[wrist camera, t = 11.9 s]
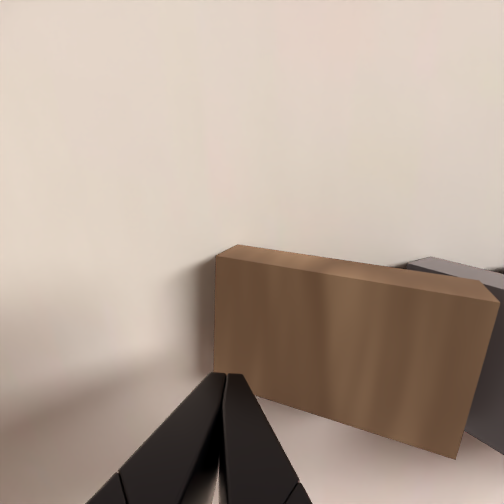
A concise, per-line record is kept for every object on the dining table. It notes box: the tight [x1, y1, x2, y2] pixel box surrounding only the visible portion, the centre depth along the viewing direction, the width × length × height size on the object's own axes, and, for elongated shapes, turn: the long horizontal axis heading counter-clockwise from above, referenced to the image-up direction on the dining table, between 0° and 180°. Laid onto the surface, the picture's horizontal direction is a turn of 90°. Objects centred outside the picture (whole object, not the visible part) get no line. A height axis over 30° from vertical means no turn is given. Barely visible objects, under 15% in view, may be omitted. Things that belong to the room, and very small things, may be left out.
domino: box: [213, 245, 500, 460], centre depth 11 cm, size 2×5×8 cm
